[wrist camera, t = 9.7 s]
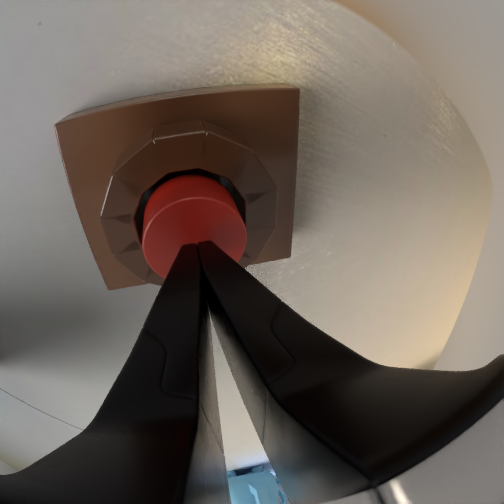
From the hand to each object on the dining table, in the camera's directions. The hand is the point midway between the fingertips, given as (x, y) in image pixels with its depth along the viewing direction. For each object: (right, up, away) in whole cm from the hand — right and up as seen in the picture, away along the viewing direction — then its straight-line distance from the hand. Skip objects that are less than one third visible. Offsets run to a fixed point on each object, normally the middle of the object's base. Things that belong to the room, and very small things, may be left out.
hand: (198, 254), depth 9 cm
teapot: (-3, -52, +47) cm, 70 cm away
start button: (-1, +1, +2) cm, 2 cm away
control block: (-1, +3, +4) cm, 5 cm away
